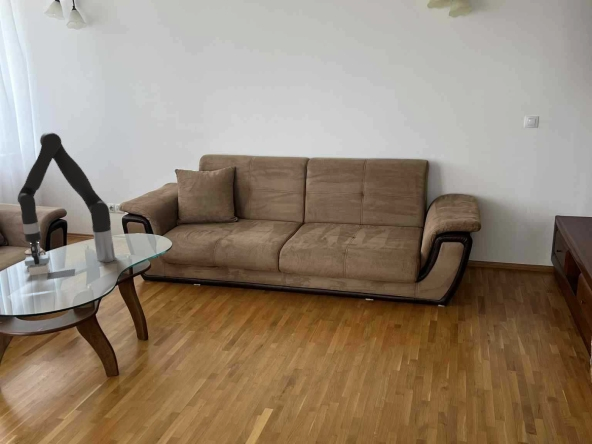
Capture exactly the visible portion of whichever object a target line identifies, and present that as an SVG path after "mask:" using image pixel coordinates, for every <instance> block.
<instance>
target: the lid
mask: <svg viewBox="0 0 592 444" xmlns="http://www.w3.org/2000/svg"><path fill="white" fill-rule="evenodd" d="M38 257H39V264H44V263H50V261H51V258H50V254H47V253H46V255H44V254H43V255H40V256H38ZM24 264H25V267H28V266H30V265H35V263H34V258H32V257H26V256H25V260H24Z"/></svg>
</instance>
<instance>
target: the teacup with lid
mask: <svg viewBox="0 0 592 444" xmlns="http://www.w3.org/2000/svg"><path fill="white" fill-rule="evenodd" d="M24 255H25V258H26V257H32V253H31V249H30V248H29V249H27V250H25V251H24ZM34 255H35V253H34ZM40 255H47V253H46V250H44V249H43V248H42V247H40ZM27 268H29V266H27Z"/></svg>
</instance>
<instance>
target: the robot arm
mask: <svg viewBox="0 0 592 444" xmlns="http://www.w3.org/2000/svg"><path fill="white" fill-rule="evenodd" d="M39 142H40V146H41V147H40V150H39V154H38V155H37V158H36V160H35V162H34V164H33V165H32V166H31V168H30V171H29V172H28V175H27V176H26V180H25V181H24V184H23V185H22V187H21V189H20V191H19V193H18V195H17V202H18V203H19V205H20V210H21V221H22V230H23V234H24V235H23V236H24V239H25V240H24V241H25V242H28V243H30V244H29V247H30V248H29V249H31V253H32V258H34V263H35V265H37V264H39V257H38V256H40V248H41V246H40V240H42V234H41V233H42V232H41V228H40V224H39V221H38V220H39V219H38V215H37V210H36V209H37V208H36V207H37V206H36V205H37V204H36V200H35V194H36V192H37V191H39V189H40V187H41V185H42V184H43V181H44V178H45V176H46V173H47V172H48V171H47V170H48V169H49V166H50V164H51V162H52V160H54V162H55V164H56V165H57V168H58V169H59V170H60V173H61V174H62V175H63V177H64V179H65V181H67V183H68V184H69V186H71V188H72V189H73V190H74V191H75V192H76V193H77V194H78V195H79V196H80V198H81V200H83V201H84V204H85V205H86V207H87V209H88V211H89V213H90V217H91V223H92V231H93V232H92V233H93V239H94V246H95V252H96V259H97V261H98V262H103V263H110V262H113V260H114V261H116V255H115V254H116V253H115V248H114V247H115V246H114V241H113V235H112V234H113V233H112V227H111V223H112V221H111V215H110V214H111V213H110V209H109V206H108V205H107V203H105V201H103V200H102V198H100V196H99V194H98V193H96V191H95V190H94V188H93V185H92V184H91V182H90V180H89V179H88V177H87V175H86V174H85V172H84V171H83V169H82V167H80V165H79V164H78V163H77V162H76V161H75V159H73V158H72V157H71V156H70V154H69V153H68V152H67V150H66V148H65V147H64V146H63V144H62V138H61V136H60V135H58V134H57V133H55V132H52V131H51V132H50V131H48V132H47V131H46V132H44V133H43V134H42V135H41V136H40V139H39ZM34 253H35V255H34Z"/></svg>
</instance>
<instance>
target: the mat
mask: <svg viewBox="0 0 592 444" xmlns="http://www.w3.org/2000/svg"><path fill="white" fill-rule="evenodd" d="M75 274H76V268H71V269H65V270H58V271H52V272H49V273H47V278H46V280H54V279H61V278H68V277H74V276H75Z"/></svg>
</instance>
